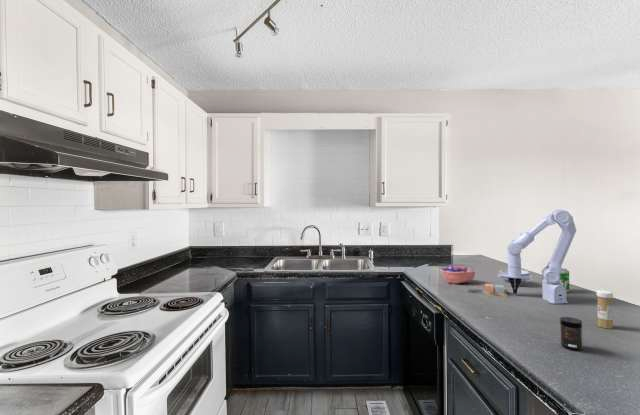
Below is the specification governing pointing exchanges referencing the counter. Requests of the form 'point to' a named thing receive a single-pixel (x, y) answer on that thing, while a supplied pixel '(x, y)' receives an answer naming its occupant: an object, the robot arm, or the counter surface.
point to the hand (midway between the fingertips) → (515, 293)
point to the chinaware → (523, 272)
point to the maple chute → (489, 292)
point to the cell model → (457, 274)
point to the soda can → (565, 279)
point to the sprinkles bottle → (605, 309)
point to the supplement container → (571, 333)
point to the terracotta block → (489, 287)
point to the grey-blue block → (499, 288)
